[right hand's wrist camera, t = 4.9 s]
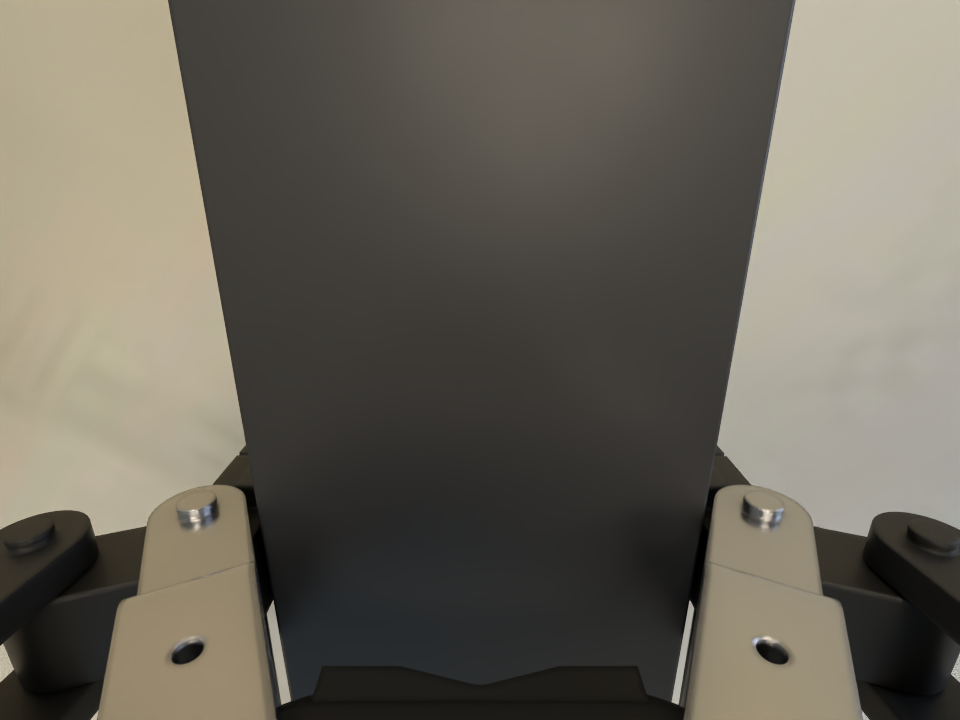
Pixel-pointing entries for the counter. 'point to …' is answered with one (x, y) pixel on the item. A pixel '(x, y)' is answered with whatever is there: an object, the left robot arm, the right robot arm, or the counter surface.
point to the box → (481, 311)
